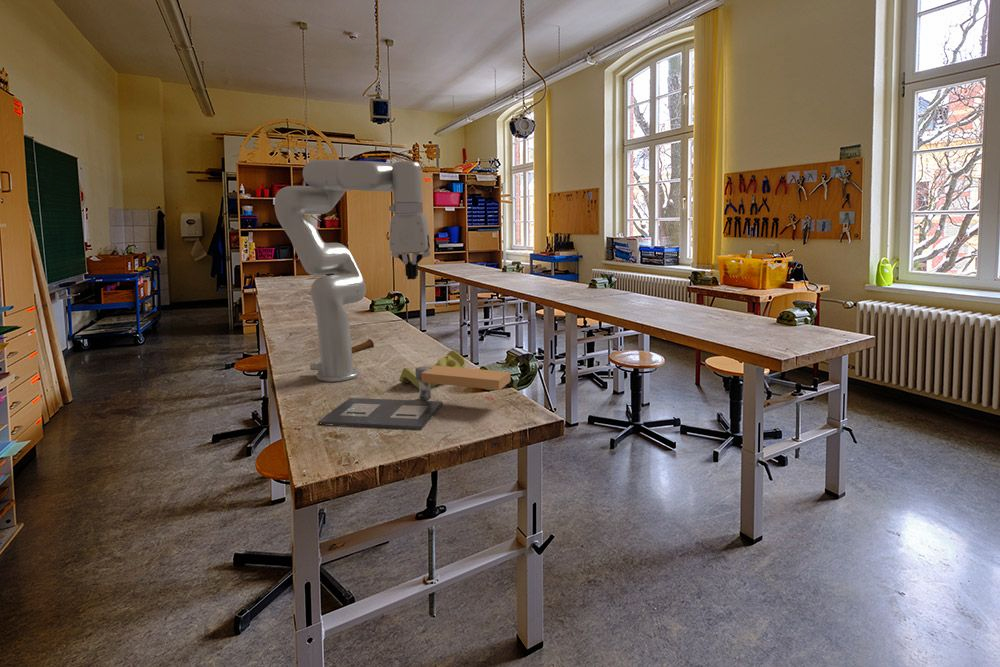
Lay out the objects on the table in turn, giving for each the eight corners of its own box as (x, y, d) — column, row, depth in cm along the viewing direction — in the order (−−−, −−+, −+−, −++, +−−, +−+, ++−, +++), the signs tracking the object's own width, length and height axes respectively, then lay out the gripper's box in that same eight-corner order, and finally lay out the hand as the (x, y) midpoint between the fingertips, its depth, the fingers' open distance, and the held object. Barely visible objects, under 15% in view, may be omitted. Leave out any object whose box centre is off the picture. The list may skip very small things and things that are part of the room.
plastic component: (423, 384, 161) (401, 364, 166) (418, 403, 165) (397, 384, 170) (472, 364, 176) (450, 346, 180) (466, 382, 179) (445, 365, 184)
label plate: (318, 424, 138) (316, 402, 137) (358, 394, 161) (356, 374, 159) (421, 429, 134) (420, 406, 132) (447, 397, 156) (447, 377, 155)
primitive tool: (337, 359, 202) (337, 349, 201) (327, 358, 204) (326, 348, 204) (375, 348, 218) (375, 339, 217) (365, 347, 220) (364, 338, 220)
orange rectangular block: (499, 390, 142) (498, 380, 142) (409, 380, 152) (408, 371, 151) (510, 381, 149) (510, 372, 149) (424, 372, 159) (423, 364, 158)
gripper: (376, 210, 149) (380, 280, 153) (431, 209, 147) (434, 280, 151) (386, 210, 157) (390, 277, 160) (439, 209, 154) (442, 277, 158)
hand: (412, 278), depth 156 cm, fingers closed
